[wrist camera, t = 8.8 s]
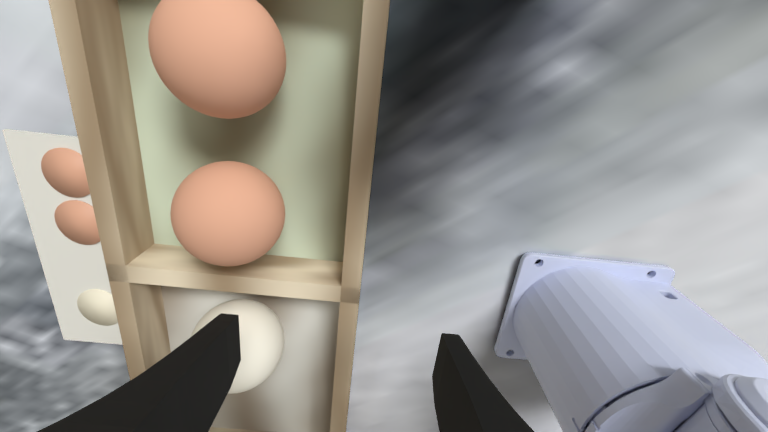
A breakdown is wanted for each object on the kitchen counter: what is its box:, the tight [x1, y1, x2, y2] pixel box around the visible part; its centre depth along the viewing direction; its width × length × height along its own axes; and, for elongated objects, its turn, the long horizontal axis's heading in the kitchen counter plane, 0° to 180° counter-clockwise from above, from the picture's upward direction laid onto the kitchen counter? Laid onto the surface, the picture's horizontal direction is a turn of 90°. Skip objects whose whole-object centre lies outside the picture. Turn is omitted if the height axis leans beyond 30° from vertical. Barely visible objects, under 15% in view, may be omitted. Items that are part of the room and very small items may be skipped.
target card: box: [2, 129, 123, 345], centre depth 22 cm, size 6×14×1 cm, turn 174°
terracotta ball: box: [170, 161, 285, 266], centre depth 17 cm, size 5×5×5 cm
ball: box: [148, 0, 286, 119], centre depth 14 cm, size 5×5×5 cm
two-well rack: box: [49, 0, 390, 432], centre depth 20 cm, size 13×31×4 cm, turn 174°
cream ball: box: [191, 299, 285, 394], centre depth 20 cm, size 5×5×5 cm
